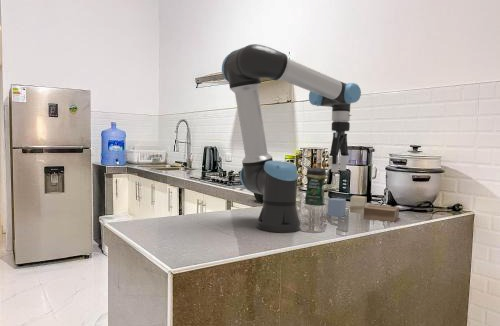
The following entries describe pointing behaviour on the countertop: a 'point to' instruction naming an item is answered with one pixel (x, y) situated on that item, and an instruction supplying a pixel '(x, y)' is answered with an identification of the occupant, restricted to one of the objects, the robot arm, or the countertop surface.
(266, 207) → the robot arm
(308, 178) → the coffee jar
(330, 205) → the slate block
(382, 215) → the walnut block
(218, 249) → the countertop surface
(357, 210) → the birch block
